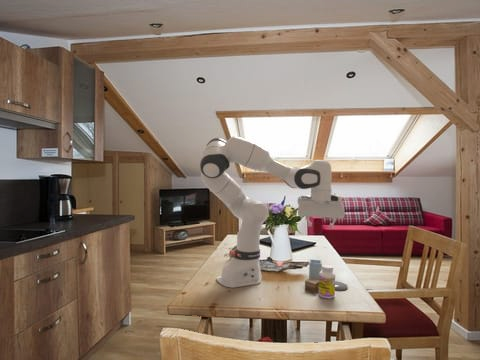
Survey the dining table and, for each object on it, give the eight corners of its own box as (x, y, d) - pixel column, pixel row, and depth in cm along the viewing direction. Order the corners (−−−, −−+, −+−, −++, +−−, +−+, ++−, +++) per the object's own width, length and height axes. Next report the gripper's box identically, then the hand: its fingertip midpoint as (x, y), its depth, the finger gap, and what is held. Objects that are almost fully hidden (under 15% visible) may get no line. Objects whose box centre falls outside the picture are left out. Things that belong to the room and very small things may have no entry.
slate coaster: (338, 292, 133) (338, 291, 133) (320, 285, 141) (320, 283, 141) (352, 287, 139) (352, 286, 138) (333, 280, 147) (334, 279, 147)
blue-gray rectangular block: (308, 283, 143) (309, 262, 142) (309, 279, 148) (309, 259, 148) (321, 284, 141) (321, 263, 141) (321, 280, 147) (321, 260, 146)
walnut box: (314, 292, 132) (314, 283, 132) (304, 289, 136) (305, 280, 135) (320, 289, 136) (320, 280, 135) (310, 286, 139) (311, 277, 139)
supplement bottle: (315, 295, 129) (316, 265, 129) (323, 291, 134) (324, 262, 133) (329, 300, 124) (330, 269, 124) (337, 296, 129) (338, 266, 128)
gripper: (296, 196, 136) (296, 226, 136) (344, 197, 128) (344, 230, 129) (298, 194, 141) (298, 224, 142) (345, 196, 134) (344, 227, 135)
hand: (320, 227), depth 135 cm, fingers open, 8 cm apart
